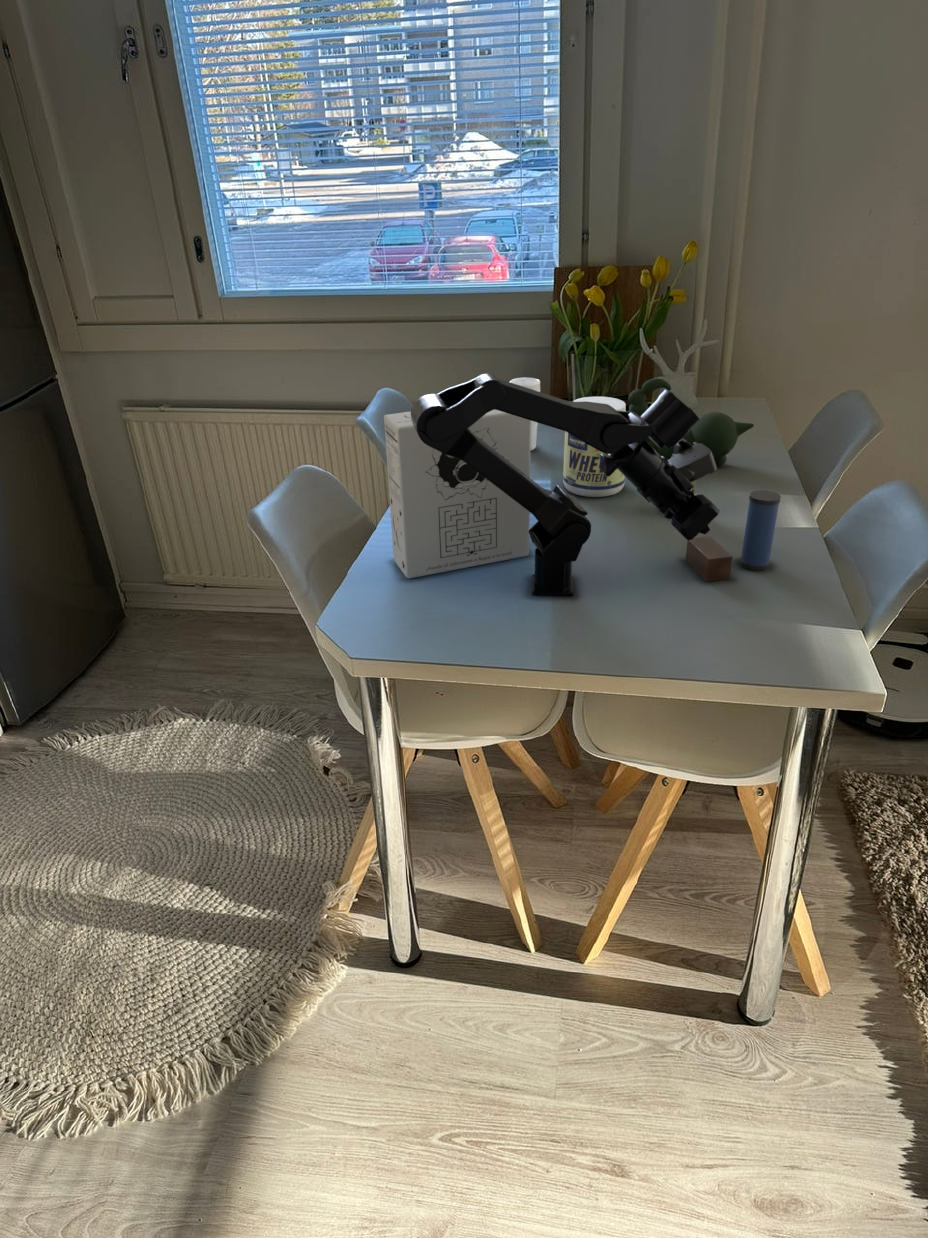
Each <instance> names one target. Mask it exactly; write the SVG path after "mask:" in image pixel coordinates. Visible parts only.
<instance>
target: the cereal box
mask: <svg viewBox="0 0 928 1238" xmlns="http://www.w3.org/2000/svg"><path fill="white" fill-rule="evenodd" d="M383 422H384V434H385V435H384V436H385V437H384V438H385V439H384V440H385V452H386V466H387V480H388V495H389V496H388V497H389V510H390V523H391V524H390V525H391V526H390V527H391V538H392V539H391V540H392V551H393V552H392V553H393V561H394V563H395V564H396V565H397V567H398V568H399V569H400V571H401V572H402V573H403V574H404V576H405V578H406V579H414V578H420V577H424V576H430V575H434V574H435V575H436V574H440V573H445V572H451V571H455V570H461V569H466V568H472V567H475V566H476V567H477V566H481V565H487V564H493V563H498V562H503V561H507V560H513V559H514V560H515V559H518V558H523V557H528V556H529V555H530V535H529V530H530V512H529V511H528V510H527V509H525V508H524V507H523V506H521V505H520V504H519V503H517V502H516V501H515V500H513V499H512V498H511V497H510V496H508V495H507V494H506V493H504V492H503V491H502V490H500V489H499V488H498V487H497V486H495V485H494V484H493V483H491V482H490V481H489V480H487V479H486V478H485V477H483V476H482V475H481V474H480V473H478V472H477V471H476V470H474V469H473V468H472V467H470V466H469V465H468V464H467V463H465V462H464V461H462V460H460V459H457V458H454V457H451V456H448V455H445V454H443V453H441V452H439V451H438V450H436V449H434V448H432V447H430V446H428V445H426V444H425V443H423V441H422V440H421V439H420V437H419V436H418V433H417V431H416V429H415V427H414V425H413V423H412V421H411V411H404V412H397V413H396V412H395V413H389V414H384V416H383ZM469 428H470V430H471V431H472V432H473V433H474V434H475V435H476V436H477V437H479V438H480V439H481V440H482V441H484V442H485V443H486V444H487V445H489V446H490V447H491V448H492V449H494V450H495V451H496V452H498V453H499V454H500V455H501V456H503V457H504V458H505V459H506V460H508V461H509V462H510V463H511V464H513V465H514V466H515V467H516V468H518V469H519V470H520V471H522V472H523V473H524V474H525V475H527V476H528V477H529V478H530V479H531V451H530V446H531V420H528V419H524V418H521V417H518V416H515V415H512V414H508V413H505V412H502V411H499V410H496V409H494V410H492V411H490V412H488V413H486V414H485V415H484V416H483V417H481V418H480V419H479V420H478V421H477V422H475V423H474V424H473V425H472V426H470V427H469Z"/></svg>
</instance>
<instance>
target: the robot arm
mask: <svg viewBox="0 0 928 1238" xmlns="http://www.w3.org/2000/svg"><path fill="white" fill-rule="evenodd" d="M648 407H649V408H648V409H647V410H646V411H645V412H644V413H643V414H642V415H641V417H640V416H638V415H637V414H636V413H635V412H628V411H629V410H626V411H616V410H615V409H614V408H613V407H611V406H610V405H608V404H603V403H595V402H587V401H584V402H573V401H571V400H567V399H562V398H559V397H556V396H554V395H550V394H547V393H545V392H541V391H540V392H538V391H535V390H532V389H529V388H526V387H523V386H520V385H517V384H514V383H511V382H510V381H507V380H504V379H501V378H498V377H496V376H495V374H493V373H492V374H491V373H483V374H480V375H478V376H477V377H474V378H473V379H470V380H468V381H466V382H463V383H460V384H457V385H454V386H451V387H448V388H446V389H444V390H442V391H440V392H438V393H430V394H425V395H422V396H420V397H419V398H418V399H416V401H414V403H413V404H412V407H411V410H410V412H411V421H412V423H413V425H414V427H415V429H416V431H417V433H418V436H419V437H420V439H421V440H422V441H423V443H425V444H426V445H428V446H430V447H432V448H434V449H436V450H438V451H439V452H441V453H443V454H445V455H448V456H451V457H454V458H457V459H460V460H462V461H464V462H465V463H467V464H468V465H469V466H470V467H472V468H473V469H474V470H476V471H477V472H478V473H480V474H481V475H482V476H483V477H485V478H486V479H487V480H489V481H490V482H491V483H493V484H494V485H495V486H497V487H498V488H499V489H500V490H502V491H503V492H504V493H506V494H507V495H508V496H510V497H511V498H512V499H513V500H515V501H516V502H517V503H519V504H520V505H521V506H523V507H524V508H525V509H527V510H528V511H529V514H532V516H533V517H534V518H535V519H536V521H537V522H535V523H534V524H533V525H532V526H531V527H530V528H529V538H530V540H531V542H532V543H533V544H534V546H535V547H536V548H535V549H534V572H533V573H534V574H532V575H531V595H532V596H535V597H537V596H538V597H574V596H575V586H574V576H573V575H572V566H573V562H576V561H577V560H578V557H579V554H580V552H581V550H582V548H583V545H584V544H586V543H587V541H588V539H589V538H590V536H591V533H592V523H591V521H590V520H589V519H588V518H587V516H588V514H589V513H588V511H587V510H586V509H585V508H584V507H583V505H582V504H581V503H580V502H579V500H578V499H577V498H576V497H575V496H572V495H569V494H568V493H566V492H565V491H564V490H563V488H562V487H561V486H560V485H559V484H556V485H555V486H554V488H553V490H550V489H546V488H544V487H542V486H541V485H539V484H538V483H537V482H536V481H534V480H533V479H532V478H531V477H530V478H529V477H528V476H527V475H525V474H524V473H523V472H522V471H520V470H519V469H518V468H516V467H515V466H514V465H513V464H511V463H510V462H509V461H508V460H506V459H505V458H504V457H503V456H501V455H500V454H499V453H498V452H496V451H495V450H494V449H492V448H491V447H490V446H489V445H487V444H486V443H485V442H484V441H482V440H481V439H480V438H479V437H477V436H476V435H475V434H474V433H473V432H472V431H471V430H470V428H469V427H470V426H472V425H473V424H474V423H475V422H477V421H478V420H479V419H480V418H481V417H483V416H484V415H485V414H486V413H488V412H490V411H492V410H494V409H496V410H499V411H502V412H505V413H508V414H512V415H515V416H518V417H521V418H524V419H528V420H531V421H534V422H537V423H538V424H540V425H544V426H548V427H550V428H553V429H557V430H559V431H563V432H565V431H566V432H568V433H569V434H571V435H573V436H575V437H576V438H578V439H580V440H581V441H583V442H584V443H586V444H588V445H590V446H592V447H593V448H595V449H597V450H599V451H601V452H603V453H602V454H600V458H601V460H600V464H599V468H600V470H601V471H602V472H603V473H604V474H605V475H606V476H610V475H611V474H612V473H613V472H614V471H615V470H616V469H618V470H619V471H620V472H621V473H622V474H623V475H624V476H625V479H627V480H628V481H629V482H630V483H631V484H632V485H633V486H634V487H635V488H636V491H637V492H638V493H639V494H640V495H641V496H642V498H644V499H645V500H646V501H647V502H648V503H650V504H652V505H653V506H654V507H655V508H656V509H657V510H658V513H660V514H661V516H663V518H665V519H667V520H668V523H670V524H671V526H672V527H673V528H674V529H675V530H676V531H677V532H678V533H679V534H680V535H681V536H683V538H685V540H687V541H688V540H692V539H693V538H696V537H697V536H698V535H699V534H701V535H707V534H708V533H709V532H710V530H711V529H710V527H709V524H710V523H711V522H712V521H713V520H714V519H715V518H717V516H719V514H720V509H719V507H717V506H716V505H715V504H714V503H713V502H712V501H711V500H710V499H709V498H707V497H706V496H705V495H704V494H702V493H701V494H700V493H699V492H695V494H694V490H693V487H694V486H693V485H692V484H691V483H690V482H692V481H695V482H696V481H698V480H699V479H701V478H703V477H705V476H707V475H708V474H714V473H715V472H716V471H717V470H718V466H716V463H715V460H714V457H713V454H712V451H711V450H710V449H709V448H707V447H706V446H705V445H703V444H701V443H696V442H694V445H691V444H690V443H689V442H687V441H686V440H685V439H683V437H684V436H685V435H686V434H687V433H688V432H689V431H690V430H691V429H692V428H693V427H694V426H695V425H696V424H697V423H698V422H699V421H700V419H699V417H700V416H698V415H697V413H696V412H695V411H694V410H693V409H692V408H691V407H689V406H688V405H686V404H685V402H683V401H682V400H681V399H679V398H678V397H677V396H676V395H675V394H674V393H673V392H672V390H668V389H666V388H664V390H663V391H662V392H661V393H660V394H659V395H658V397H657V398H656V400H655V401H654V402H653V403H652V404H651V405H650V406H648ZM648 437H649V438H650V439H651V440H652V441H653V442H654V443H655V444H656V445H657V446H658V447H659V448H660V449H662V448H663V447H664V446H665V447H666V448H667V449H668V450H669V449H670V448H673V447H674V453H673V454H672V455H673V457H672V458H671V459H669V460H668V461H667V460H666V459H665V458H664V457H663V456H660V455H659V454H658V453H657V452H656V451H655V450H654V448H653V447H652V446H651V445H650V444H649V443H648V442H647V441H646V439H647V438H648Z"/></svg>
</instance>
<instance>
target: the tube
mask: <svg viewBox="0 0 928 1238" xmlns="http://www.w3.org/2000/svg"><path fill="white" fill-rule="evenodd" d="M781 498H782V495H780V493H777V492H776V491H772V490H766V489H757V490H753V491H751V492H750V493H749V496H748V500H749V502H748V509H747V515H746V523H745V528H744V536H743V541H742V549H741V556H740V558H739V565H740V566H741V567H742V568H744V569H746V570H750V571H756V572H757V571H758V572H759V571H765V570H768V569H769V567H770V564H771V561H770V560H771V554H772V547H773V542H774V537H775V536H774V535H775V529H776V523H777V517H778V510H779V505H780V502H781Z"/></svg>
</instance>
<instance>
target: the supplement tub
mask: <svg viewBox="0 0 928 1238" xmlns="http://www.w3.org/2000/svg"><path fill="white" fill-rule="evenodd" d="M584 401H587V402H595V403H603V404H608V405H610V406H611V407H613V408H614V409H615V410H616V411H627V410H626V406H627V404H626V402H625V401H624V400H621V399H619V398H615V397H609V396H585V397H580V398H577V399H574V400H573V401H572V402H584ZM602 453H603V452H601V451H599V450H597V449H595V448H593V447H592V446H590V445H588V444H586V443H584V442H583V441H581V440H580V439H578V438H576V437H575V436H573V435H571V434H569V433H568V432H566V431H564V449H563V474H562V478H563V479H562V483H563V486H564V488H565V489H566V490H567V491H568V492H570V493H571V494H574V495H577V496H581V497H587V498H603V497H604V498H605V497H609V496H613V495H616V494H618V493H619V492H621V491H622V489H623V488H624V486H625V483H626V477H625V476H624V475H623V474H622V473H621V472H620V471H619V470H618V469H616V470H615V471H614V472H613V473H612V474H611V475H610V476H606V475H605V474H604V473H603V472H602V471H601V470H600V468H599V464H600V460H601V458H600V454H602Z"/></svg>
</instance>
